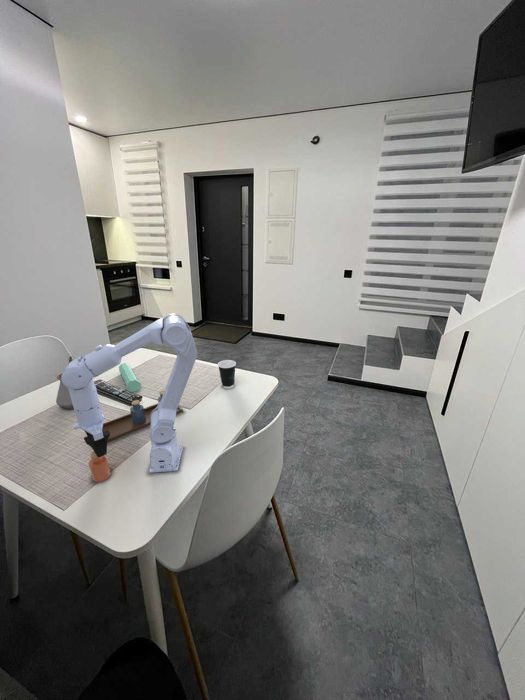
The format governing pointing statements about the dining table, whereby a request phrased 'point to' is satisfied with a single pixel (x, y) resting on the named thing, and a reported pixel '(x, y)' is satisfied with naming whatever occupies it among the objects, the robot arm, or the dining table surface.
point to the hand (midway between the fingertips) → (98, 447)
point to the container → (129, 378)
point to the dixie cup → (227, 372)
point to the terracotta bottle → (99, 467)
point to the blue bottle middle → (137, 413)
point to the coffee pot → (64, 393)
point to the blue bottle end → (160, 396)
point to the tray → (129, 424)
